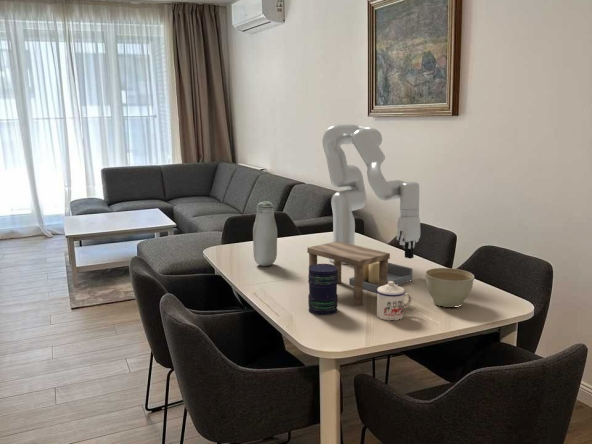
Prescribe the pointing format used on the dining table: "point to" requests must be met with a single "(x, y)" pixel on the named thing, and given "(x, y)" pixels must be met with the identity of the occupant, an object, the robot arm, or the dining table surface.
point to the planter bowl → (449, 286)
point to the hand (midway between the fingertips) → (409, 257)
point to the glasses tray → (394, 274)
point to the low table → (352, 262)
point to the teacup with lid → (391, 301)
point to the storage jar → (323, 289)
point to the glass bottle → (265, 235)
